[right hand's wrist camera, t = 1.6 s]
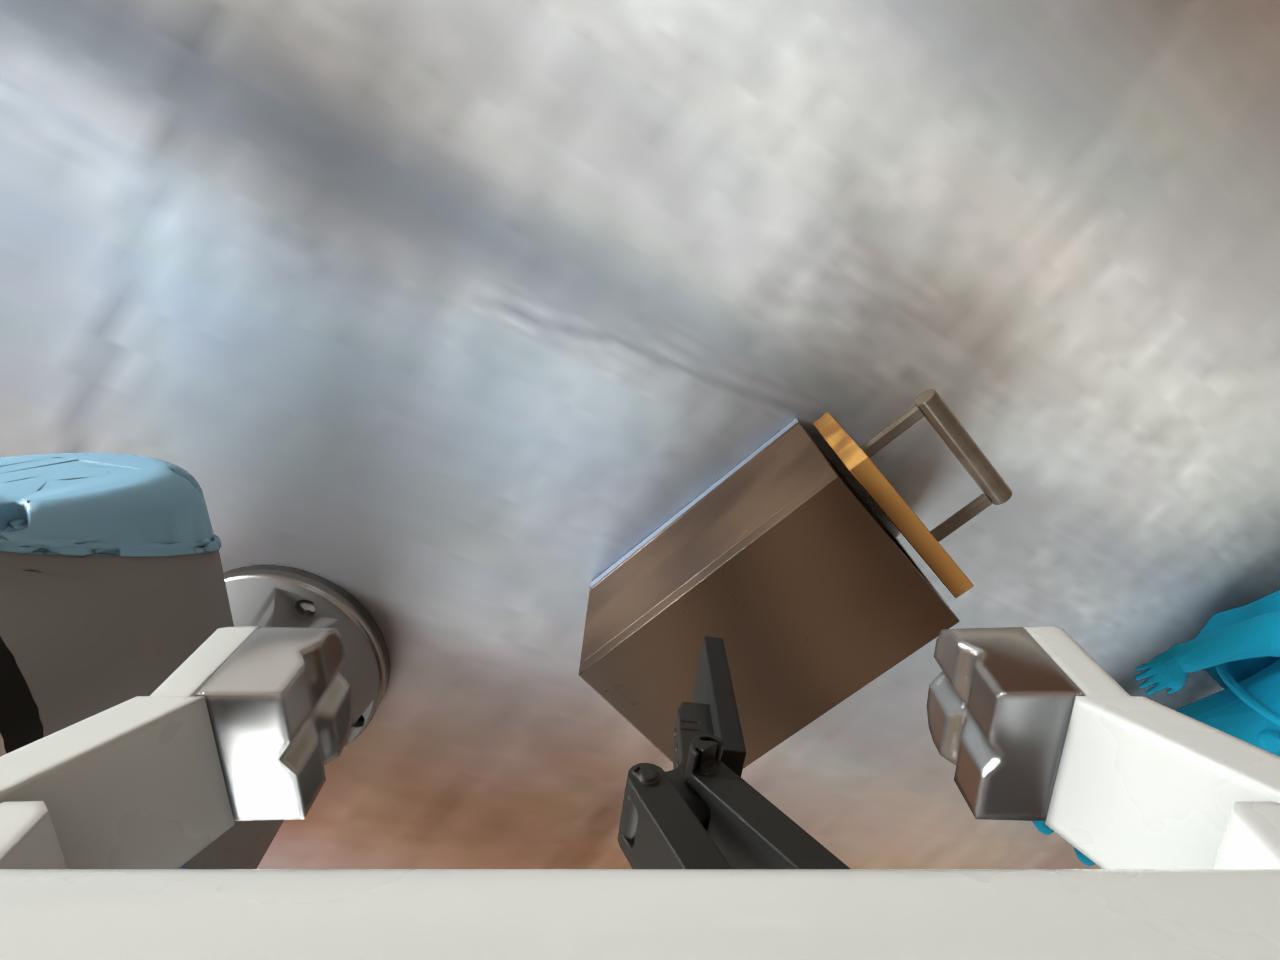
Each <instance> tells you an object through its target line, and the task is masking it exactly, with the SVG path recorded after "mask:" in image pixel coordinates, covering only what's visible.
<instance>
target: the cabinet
mask: <svg viewBox="0 0 1280 960" xmlns="http://www.w3.org/2000/svg"><path fill="white" fill-rule="evenodd" d="M958 622H959V619H958V618H957V617H956V615H955V614H954V613H953V612H952V610H951V609H950V608H949V606H948V605H947V604H946V602H945V601H944V600H943V598H942V597H941V596H940V595H939V593H938V592H937V591H936V589H935V588H934V587H933V585H932V584H931V583H930V581H929V580H928V579H927V577H926V576H925V575H924V574H923V572H922V571H921V570H920V568H919V567H918V566H917V564H916V563H915V562H914V560H913V559H912V558H911V556H910V555H909V554H908V553H907V551H906V550H905V549H904V547H903V546H902V545H901V543H900V542H899V540H898V539H897V538H896V537H895V536H894V534H893V533H892V532H891V531H890V530H889V529H888V527H887V526H886V525H885V524H884V523H883V521H882V520H881V519H880V518H879V517H878V515H877V514H876V513H875V512H874V511H873V509H872V508H871V507H870V506H869V505H868V503H867V502H866V501H865V500H864V499H863V498H862V496H861V495H860V494H859V493H858V492H857V490H856V489H855V488H854V487H853V486H852V484H851V483H850V482H849V481H848V480H847V478H846V477H845V476H844V475H843V474H842V472H841V471H840V470H839V469H838V468H837V467H836V465H835V464H834V463H833V462H832V461H831V459H830V458H829V457H828V456H827V455H826V453H825V452H824V451H823V450H822V449H821V447H820V446H819V445H818V444H817V443H816V441H815V440H814V439H813V438H812V437H811V435H810V434H809V433H808V432H807V431H806V430H805V428H804V427H803V426H802V425H801V424H800V422H799V421H798V420H797V418H795V419H794V420H793V421H792V422H790V423H789V424H788V425H787V426H785V427H784V428H783V429H782V430H780V431H779V432H778V433H777V434H775V435H774V436H773V437H772V438H770V439H769V440H768V441H767V442H765V443H764V444H763V445H762V446H760V447H759V448H758V449H757V450H755V451H754V452H753V453H752V454H751V455H749V456H748V457H747V458H746V459H744V460H743V461H742V462H741V463H739V464H738V465H737V466H736V467H734V468H733V469H732V470H731V471H729V472H728V473H727V474H726V475H724V476H723V477H722V478H721V479H719V480H718V481H717V482H716V483H714V484H713V485H712V486H711V487H709V488H708V489H707V490H706V491H704V492H703V493H702V494H701V495H699V496H698V497H697V498H696V499H694V500H693V501H692V502H691V503H689V504H688V505H687V506H686V507H684V508H683V509H682V510H681V511H679V512H678V513H677V514H676V515H674V516H673V517H672V518H671V519H669V520H668V521H667V522H666V523H664V524H663V525H662V526H661V527H659V528H658V529H657V530H656V531H654V532H653V533H652V534H651V535H649V536H648V537H647V538H646V539H644V540H643V541H642V542H641V543H639V544H638V545H637V546H636V547H634V548H633V549H632V550H631V551H629V552H628V553H627V554H626V555H624V556H623V557H622V558H621V559H619V560H618V561H617V562H616V563H614V564H613V565H612V566H611V567H609V568H608V569H607V570H606V571H604V572H603V573H602V574H601V575H600V576H598V577H597V578H596V579H595V580H593V581H592V582H591V583H590V592H589V600H588V608H587V615H586V623H585V631H584V638H583V646H582V653H581V661H580V669H579V676H580V677H581V678H582V679H584V680H585V681H586V682H587V683H588V684H589V685H590V686H591V687H592V688H593V689H594V690H595V691H596V692H598V693H599V694H600V695H601V696H602V697H603V698H604V699H605V700H606V701H607V702H608V703H609V704H610V705H612V706H613V707H614V708H615V709H616V710H617V711H618V712H619V713H620V714H621V715H622V716H623V717H624V718H625V719H627V720H628V721H629V722H630V723H631V724H632V725H633V726H634V727H635V728H636V729H637V730H638V731H639V732H641V733H642V734H643V735H644V736H645V737H646V738H647V739H648V740H649V741H650V742H651V743H652V744H653V745H655V746H656V747H657V748H658V749H659V750H660V751H661V752H662V753H663V754H664V755H665V756H666V757H667V758H669V759H670V760H671V761H672V762H673V752H672V739H673V734H674V728H675V723H676V717H677V712H678V709H679V707H680V705H681V704H682V702H692V703H694V696H693V691H694V686H695V681H696V675H697V670H698V665H699V660H700V654H701V649H702V644H703V639H704V636H708V637H717V638H723V642H724V646H725V651H726V656H727V661H728V666H729V671H730V675H731V680H732V685H733V690H734V695H735V700H736V705H737V709H738V714H739V719H740V724H741V729H742V734H743V739H744V743H745V748H746V756H745V760H744V765H743V768H745V767H746V766H747V765H749V764H750V763H752V762H753V761H755V760H756V759H758V758H759V757H761V756H762V755H764V754H765V753H767V752H768V751H770V750H771V749H773V748H774V747H775V746H777V745H778V744H780V743H781V742H783V741H784V740H786V739H787V738H789V737H790V736H792V735H793V734H795V733H796V732H798V731H799V730H800V729H802V728H803V727H805V726H806V725H808V724H809V723H811V722H812V721H814V720H815V719H817V718H818V717H820V716H821V715H823V714H824V713H825V712H827V711H828V710H830V709H831V708H833V707H834V706H836V705H837V704H839V703H840V702H842V701H843V700H845V699H846V698H848V697H849V696H850V695H852V694H853V693H855V692H856V691H858V690H859V689H861V688H862V687H864V686H865V685H867V684H868V683H870V682H871V681H873V680H874V679H876V678H877V677H878V676H880V675H881V674H883V673H884V672H886V671H887V670H889V669H890V668H892V667H893V666H895V665H896V664H898V663H899V662H901V661H902V660H903V659H905V658H906V657H908V656H909V655H911V654H912V653H914V652H915V651H917V650H918V649H920V648H921V647H923V646H924V645H926V644H927V643H928V642H930V641H931V640H933V639H934V638H936V637H937V636H939V634H940V632H941V630H944V629H949V628H951V627H952V626H953V625H955V624H956V623H958Z"/></svg>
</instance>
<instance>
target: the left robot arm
mask: <svg viewBox="0 0 1280 960" xmlns="http://www.w3.org/2000/svg"><path fill="white" fill-rule="evenodd" d="M220 547H222V546H221V541H220V539H219V537H218V536H217V535H215V534H214V533H213V529H212V525H211V522H210V518H209V514H208V511H207V507H206V503H205V499H204V496H203V492H202V489H201V487H200V486H199V484H198V482H197V481H196V480H195V478H194V477H193V476H192V475H191V474H189V473H188V472H187V471H185V470H184V469H182V468H180V467H178V466H176V465H174V464H171V463H169V462H166V461H163V460H159V459H154V458H149V457H143V456H135V455H126V454H107V453H62V454H41V455H25V456H13V457H3V458H0V757H1V756H3V755H5V754H7V753H10V752H12V751H14V750H16V749H19V748H21V747H23V746H26V745H28V744H30V743H32V742H35V741H37V740H39V739H41V738H44V737H46V736H48V735H50V734H53V733H55V732H57V731H60V730H62V729H64V728H66V727H69V726H71V725H73V724H75V723H78V722H80V721H82V720H84V719H87V718H89V717H91V716H93V715H96V714H98V713H100V712H103V711H105V710H107V709H109V708H112V707H114V706H116V705H118V704H121V703H123V702H125V701H127V700H130V699H132V698H134V697H137V696H150V695H151V694H152V693H153V692H154V691H155V690H156V689H157V688H158V687H159V686H160V685H161V684H162V683H163V682H164V681H165V680H166V679H167V678H168V677H169V676H170V675H171V674H172V673H173V672H174V671H175V670H176V669H177V668H178V667H180V666H181V665H182V664H183V663H184V662H185V661H186V660H187V659H188V658H189V657H190V656H191V655H192V654H193V653H194V652H195V651H196V650H197V649H198V648H199V647H200V646H201V645H202V644H203V643H204V642H205V641H206V640H207V639H208V638H209V637H210V636H211V635H212V634H213V633H214V632H215V631H216V630H217V629H219V628H224V627H244V626H259V627H300V628H336V629H337V631H338V632H339V633H340V634H341V635H342V638H343V643H344V648H345V653H346V658H345V659H344V661H343V662H342V664H341V666H340V667H339V669H338V670H337V671H338V672H339V673H340V674H341V675H342V676H343V677H344V678H345V679H346V681H347V682H348V683H349V684H350V685H351V691H352V698H353V718H352V723H351V727H350V731H349V735H348V740H347V741H346V743H345V745H344V747H345V746H346V745H347V744H348V743H350V742H351V741H352V740H354V739H355V738H356V737H357V736H358V735H359V734H361V733H362V731H363V730H364V729H365V728H366V727H367V725H368V724H369V722H370V721H371V720H372V718H373V716H374V714H375V712H376V710H377V708H378V706H379V704H380V702H381V700H382V698H383V696H384V694H385V691H386V688H387V683H388V677H389V661H388V654H387V650H386V646H385V643H384V640H383V638H382V635H381V633H380V631H379V629H378V628H377V626H376V624H375V623H374V621H373V620H372V618H371V617H370V615H369V614H368V613H367V612H366V610H365V609H364V608H363V607H362V606H361V605H360V604H359V603H358V602H357V601H356V600H355V599H354V598H353V597H351V596H350V595H349V594H348V593H346V592H345V591H344V590H342V589H341V588H339V587H338V586H336V585H335V584H333V583H331V582H329V581H327V580H326V579H323V578H321V577H319V576H317V575H314V574H312V573H309V572H306V571H303V570H299V569H295V568H290V567H285V566H275V565H257V566H248V567H242V568H238V569H235V570H231V571H229V572H226V573H223V569H222V564H221V559H220V554H219V549H220ZM693 696H694V703H692V702H682V704H681V705H680V707H679V709H678V712H677V717H676V723H675V728H674V734H673V739H672V752H673V765H674V769H673V770H671V771H668V772H664V771H663V770H662V769H661V768H660V767H658V766H656V765H654V764H649V763H639V764H637V765H634V766H632V768H631V769H630V770H629V772H628V778H627V784H626V788H625V794H624V800H623V807H622V813H621V819H620V827H619V833H618V842H619V845H620V847H621V849H622V851H623V852H624V854H625V856H626V858H627V860H628V861H629V863H630V865H631V867H632V868H633V869H850V868H849V867H848V866H846V865H845V864H844V863H843V862H842V861H840V860H839V859H838V858H837V857H836V856H834V855H833V854H832V853H831V852H830V851H828V850H827V849H826V848H825V847H824V846H822V845H821V844H820V843H819V842H818V841H816V840H815V839H814V838H813V837H812V836H810V835H809V834H808V833H807V832H806V831H804V830H803V829H802V828H801V827H800V826H798V825H797V824H796V823H795V822H794V821H792V820H791V819H790V818H789V817H788V816H786V815H785V814H784V813H783V812H782V811H780V810H779V809H778V808H777V807H776V806H774V805H773V804H772V803H771V802H769V801H768V800H767V799H766V798H765V797H763V796H762V795H761V794H760V793H759V792H757V791H756V790H755V789H754V788H753V787H751V786H750V785H749V784H748V783H747V782H745V781H744V780H743V779H742V778H741V774H742V769H743V765H744V760H745V756H746V748H745V743H744V739H743V734H742V729H741V724H740V719H739V714H738V709H737V705H736V700H735V695H734V690H733V685H732V680H731V675H730V671H729V666H728V661H727V656H726V651H725V646H724V642H723V638H717V637H708V636H704V639H703V644H702V649H701V654H700V660H699V665H698V670H697V675H696V681H695V686H694V691H693ZM283 821H284V820H253V821H234V823H235V824H234V825H233V826H232V827H231V828H230V829H228V830H227V831H226V832H224V833H223V834H222V835H221V836H219V837H218V838H217V839H216V840H214V841H213V842H212V843H210V844H209V845H208V846H207V847H205V848H204V849H203V850H201V851H200V852H199V853H198V854H196V855H195V856H194V857H193V858H191V859H190V860H189V861H187V862H186V863H185V864H184V865H182V866H181V867H180V868H178V869H256V868H257V867H258V865H259V863H260V861H261V860H262V858H263V856H264V854H265V853H266V851H267V849H268V847H269V846H270V844H271V842H272V840H273V839H274V837H275V835H276V833H277V832H278V830H279V828H280V826H281V825H282V823H283Z"/></svg>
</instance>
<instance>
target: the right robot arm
mask: <svg viewBox="0 0 1280 960" xmlns="http://www.w3.org/2000/svg"><path fill="white" fill-rule="evenodd" d="M345 658H346V653H345V648H344V643H343V638H342V635H341V634H340V633H339V632H338V631H337V629H336V628H300V627H259V626H244V627H224V628H219V629H217V630H216V631H215V632H214V633H213V634H212V635H211V636H210V637H209V638H208V639H207V640H206V641H205V642H204V643H203V644H202V645H201V646H200V647H199V648H198V649H197V650H196V651H195V652H194V653H193V654H192V655H191V656H190V657H189V658H188V659H187V660H186V661H185V662H184V663H183V664H182V665H181V666H180V667H178V668H177V669H176V670H175V671H174V672H173V673H172V674H171V675H170V676H169V677H168V678H167V679H166V680H165V681H164V682H163V683H162V684H161V685H160V686H159V687H158V688H157V689H156V690H155V691H154V692H153V693H152V694H151V695H150V696H137V697H134V698H132V699H130V700H127V701H125V702H123V703H121V704H118V705H116V706H114V707H112V708H109V709H107V710H105V711H103V712H100V713H98V714H96V715H93V716H91V717H89V718H87V719H84V720H82V721H80V722H78V723H75V724H73V725H71V726H69V727H66V728H64V729H62V730H60V731H57V732H55V733H53V734H50V735H48V736H46V737H44V738H41V739H39V740H37V741H35V742H32V743H30V744H28V745H26V746H23V747H21V748H19V749H16V750H14V751H12V752H10V753H7V754H5V755H3V756H1V757H0V960H1280V757H1279V756H1277V755H1274V754H1272V753H1270V752H1268V751H1265V750H1263V749H1261V748H1259V747H1256V746H1254V745H1252V744H1250V743H1247V742H1245V741H1243V740H1241V739H1238V738H1236V737H1234V736H1232V735H1229V734H1227V733H1225V732H1223V731H1220V730H1218V729H1216V728H1214V727H1211V726H1209V725H1207V724H1204V723H1202V722H1200V721H1198V720H1195V719H1193V718H1191V717H1189V716H1186V715H1184V714H1182V713H1180V712H1177V711H1175V710H1173V709H1171V708H1168V707H1166V706H1164V705H1162V704H1159V703H1157V702H1155V701H1153V700H1150V699H1148V698H1146V697H1143V696H1130V695H1129V694H1128V693H1127V692H1126V691H1125V690H1124V689H1123V688H1122V687H1121V686H1120V685H1119V684H1118V683H1117V682H1116V681H1115V680H1114V679H1113V678H1112V677H1111V676H1110V675H1109V674H1108V673H1107V672H1106V671H1105V670H1104V669H1103V668H1102V667H1101V666H1100V665H1099V664H1098V663H1097V662H1096V661H1095V660H1094V659H1093V658H1092V657H1091V656H1090V655H1089V654H1087V653H1086V652H1085V651H1084V650H1083V649H1082V648H1081V647H1080V646H1079V645H1078V644H1077V643H1076V642H1075V641H1074V640H1073V639H1072V638H1071V637H1070V636H1069V635H1068V634H1067V633H1066V632H1065V631H1064V630H1063V629H1060V628H1058V627H1055V626H1039V627H1010V628H970V629H944V630H941V632H940V634H939V636H938V638H937V641H936V647H935V653H934V658H935V659H936V661H937V662H938V664H939V666H940V667H941V669H942V670H943V671H942V672H941V673H940V674H939V675H938V676H937V677H936V678H935V679H934V681H933V682H932V683H931V684H930V685H929V692H928V700H927V713H928V723H929V729H930V732H931V735H932V738H933V742H934V744H935V745H936V747H937V749H938V751H939V753H940V755H941V756H942V757H944V758H946V759H947V760H949V761H950V762H952V763H953V764H955V765H956V772H955V778H954V781H955V782H956V784H957V786H958V788H959V790H960V791H961V793H962V795H963V797H964V799H965V800H966V802H967V804H968V806H969V808H970V809H971V811H972V813H973V815H974V816H975V818H976V819H991V820H1027V821H1046V822H1045V824H1046V825H1047V826H1048V827H1049V828H1051V829H1052V830H1053V831H1055V832H1056V833H1057V834H1058V835H1060V836H1061V837H1062V838H1063V839H1065V840H1066V841H1067V842H1069V843H1070V844H1071V845H1072V846H1074V847H1075V848H1076V849H1078V850H1079V851H1080V852H1081V853H1083V854H1084V855H1085V856H1086V857H1088V858H1089V859H1090V860H1092V861H1093V862H1094V863H1095V864H1097V865H1098V866H1099V867H1100V868H1102V869H178V868H180V867H181V866H182V865H184V864H185V863H186V862H187V861H189V860H190V859H191V858H193V857H194V856H195V855H196V854H198V853H199V852H200V851H201V850H203V849H204V848H205V847H207V846H208V845H209V844H210V843H212V842H213V841H214V840H216V839H217V838H218V837H219V836H221V835H222V834H223V833H224V832H226V831H227V830H228V829H230V828H231V827H232V826H233V825H234V824H235V823H234V821H253V820H288V819H304V818H305V817H306V815H307V813H308V811H309V809H310V808H311V806H312V804H313V802H314V800H315V799H316V797H317V795H318V793H319V791H320V790H321V788H322V786H323V784H324V782H325V781H326V778H325V772H324V765H325V764H327V763H328V762H330V761H331V760H333V759H334V758H336V757H338V756H339V755H340V753H341V751H342V749H343V747H344V745H345V743H346V741H347V740H348V735H349V731H350V727H351V723H352V718H353V698H352V691H351V685H350V684H349V683H348V682H347V681H346V679H345V678H344V677H343V676H342V675H341V674H340V673H339V672H338V671H337V670H338V669H339V667H340V666H341V664H342V662H343V661H344V659H345Z"/></svg>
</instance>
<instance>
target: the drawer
mask: <svg viewBox="0 0 1280 960" xmlns="http://www.w3.org/2000/svg"><path fill="white" fill-rule="evenodd" d="M915 405H916V406H914V407H913V408H912V409H910V410H909V411H908V412H906V413H905V414H904V415H902V416H901V417H900V418H899V419H897V420H896V421H895V422H893V423H892V424H891V425H890V426H888V427H887V428H886V429H884V430H883V431H882V432H880V433H879V434H878V435H877V436H875V437H874V438H873V439H871V440H870V441H869V442H867V443H866V444H865V445H864V446H862V447H861V448H860V447H859V446H858V445H857V444H856V442H855V441H854V440H853V439H852V438H851V437H850V436H849V435H848V433H847V432H846V431H845V430H844V429H843V428H842V427H841V426H840V425H839V423H838V422H837V421H836V420H835V419H834V418H833V417H832V416H831V415H830V413H829V412H827V413H825V414H824V415H823V416H822V417H820V418H819V419H818V420H816V421H815V422H814V423H813V425H814V426H815V427H816V429H817V430H818V431H819V432H820V434H821V435H822V436H823V438H824V439H825V440H826V441H827V443H828V444H829V445H830V447H831V448H832V449H833V450H834V452H835V453H836V454H837V456H838V457H839V458H840V459H841V461H842V462H843V463H844V465H845V466H846V467H847V468H848V470H849V471H850V472H851V473H852V475H853V476H854V477H855V478H856V479H857V481H858V482H859V483H860V484H861V485H862V487H863V488H864V489H865V490H866V491H867V493H868V494H869V495H870V496H871V497H872V499H873V500H874V501H875V502H876V503H877V505H878V506H879V507H880V508H881V509H882V511H883V512H884V513H885V514H886V515H887V517H888V518H889V519H890V520H891V521H892V523H893V524H894V525H895V526H896V527H897V529H898V530H899V531H900V532H901V533H902V535H903V536H904V537H905V538H906V539H907V541H908V542H909V543H910V544H911V545H912V547H913V548H914V549H915V550H916V551H917V553H918V554H919V555H920V556H921V557H922V558H923V560H924V561H925V562H926V563H927V564H928V566H929V567H930V568H931V569H932V570H933V572H934V573H935V574H936V575H937V576H938V578H939V579H940V580H941V581H942V582H943V584H944V585H945V586H946V587H947V588H948V590H949V591H950V592H951V593H952V594H953V596H954V597H955V598H957V597H959V596H960V595H961V594H963V593H964V592H966V591H967V590H969V589H970V588H972V587H973V584H972V583H971V582H970V580H969V579H968V578H967V577H966V575H965V574H964V573H963V572H962V571H961V569H960V568H959V567H958V566H957V564H956V563H955V562H954V561H953V560H952V558H951V557H950V556H949V555H948V553H947V552H946V551H945V550H944V549H943V547H942V546H941V545H940V544H939V541H941V540H942V539H943V538H945V537H946V536H948V535H949V534H950V533H952V532H953V531H955V530H956V529H957V528H959V527H960V526H962V525H963V524H964V523H966V522H967V521H969V520H970V519H971V518H973V517H974V516H976V515H977V514H979V513H980V512H981V511H983V510H984V509H986V508H987V507H988V506H990V505H991V504H992V503H993V504H995V505H999V504H1002V503H1004V502H1006V501H1007V500H1009V499H1010V497H1011V496H1012V491H1011V489H1010V488H1009V487H1008V485H1007V484H1006V483H1005V481H1004V480H1003V479H1002V477H1001V476H1000V475H999V473H998V472H997V471H996V469H995V468H994V467H993V466H992V464H991V463H990V462H989V460H988V459H987V458H986V456H985V455H984V454H983V452H982V451H981V450H980V448H979V447H978V446H977V445H976V443H975V442H974V441H973V439H972V438H971V437H970V435H969V434H968V433H967V431H966V430H965V429H964V427H963V426H962V425H961V423H960V422H959V421H958V420H957V418H956V417H955V416H954V414H953V413H952V412H951V410H950V409H949V408H948V406H947V405H946V404H945V402H944V401H943V400H942V399H941V397H940V396H939V395H938V393H937V392H936V391H935V390H933V389H931V390H927V391H925V392H924V393H922V394H921V395H920V396H918V398H917V399H916V400H915ZM923 416H925V418H926V419H927V420H928V421H929V423H930V424H931V425H932V427H933V428H934V429H935V430H936V432H937V433H938V434H939V436H940V437H941V438H942V439H943V441H944V442H945V443H946V445H947V446H948V447H949V448H950V450H951V451H952V452H953V454H954V455H955V456H956V457H957V459H958V460H959V461H960V463H961V464H962V465H963V466H964V468H965V469H966V470H967V472H968V473H969V474H970V476H971V477H972V478H973V479H974V481H975V482H976V483H977V485H978V486H979V487H980V488H981V490H982V491H983V492H984V494H982V495H980V496H979V497H978V498H976V499H975V500H973V501H972V502H971V503H969V504H968V505H966V506H965V507H964V508H962V509H961V510H960V511H958V512H957V513H955V514H954V515H953V516H951V517H950V518H948V519H947V520H946V521H944V522H943V523H941V524H940V525H939V526H937V527H936V528H935V529H933V530H932V531H929V530H928V529H927V528H926V527H925V525H924V524H923V523H922V522H921V520H920V519H919V518H918V517H917V516H916V514H915V513H914V512H913V511H912V509H911V508H910V507H909V506H908V505H907V503H906V502H905V501H904V500H903V498H902V497H901V496H900V495H899V494H898V492H897V491H896V490H895V489H894V487H893V486H892V485H891V484H890V483H889V481H888V480H887V479H886V478H885V477H884V475H883V474H882V473H881V472H880V470H879V469H878V468H877V467H876V466H875V464H874V463H873V462H872V461H871V459H870V457H871V456H872V455H874V454H875V453H876V452H877V451H879V450H880V449H881V448H883V447H884V446H885V445H887V444H888V443H889V442H891V441H892V440H893V439H894V438H896V437H897V436H898V435H900V434H901V433H902V432H904V431H905V430H906V429H908V428H909V427H910V426H912V425H913V424H914V423H915V422H917V421H918V420H919V419H921V418H922V417H923Z"/></svg>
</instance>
